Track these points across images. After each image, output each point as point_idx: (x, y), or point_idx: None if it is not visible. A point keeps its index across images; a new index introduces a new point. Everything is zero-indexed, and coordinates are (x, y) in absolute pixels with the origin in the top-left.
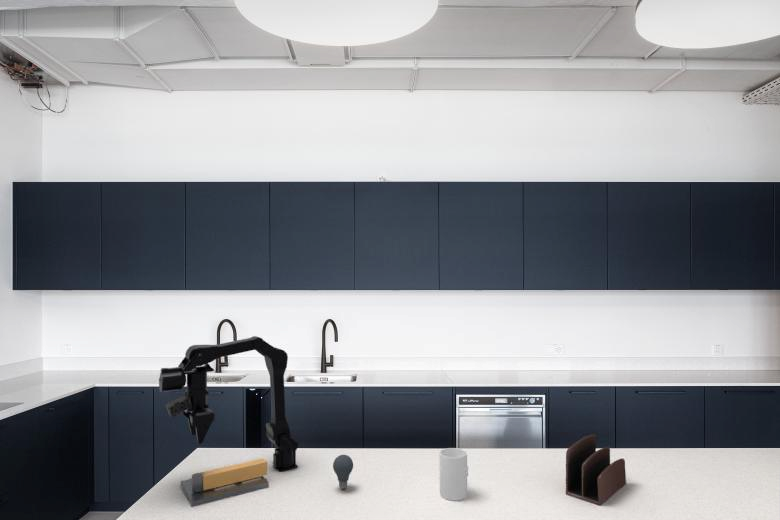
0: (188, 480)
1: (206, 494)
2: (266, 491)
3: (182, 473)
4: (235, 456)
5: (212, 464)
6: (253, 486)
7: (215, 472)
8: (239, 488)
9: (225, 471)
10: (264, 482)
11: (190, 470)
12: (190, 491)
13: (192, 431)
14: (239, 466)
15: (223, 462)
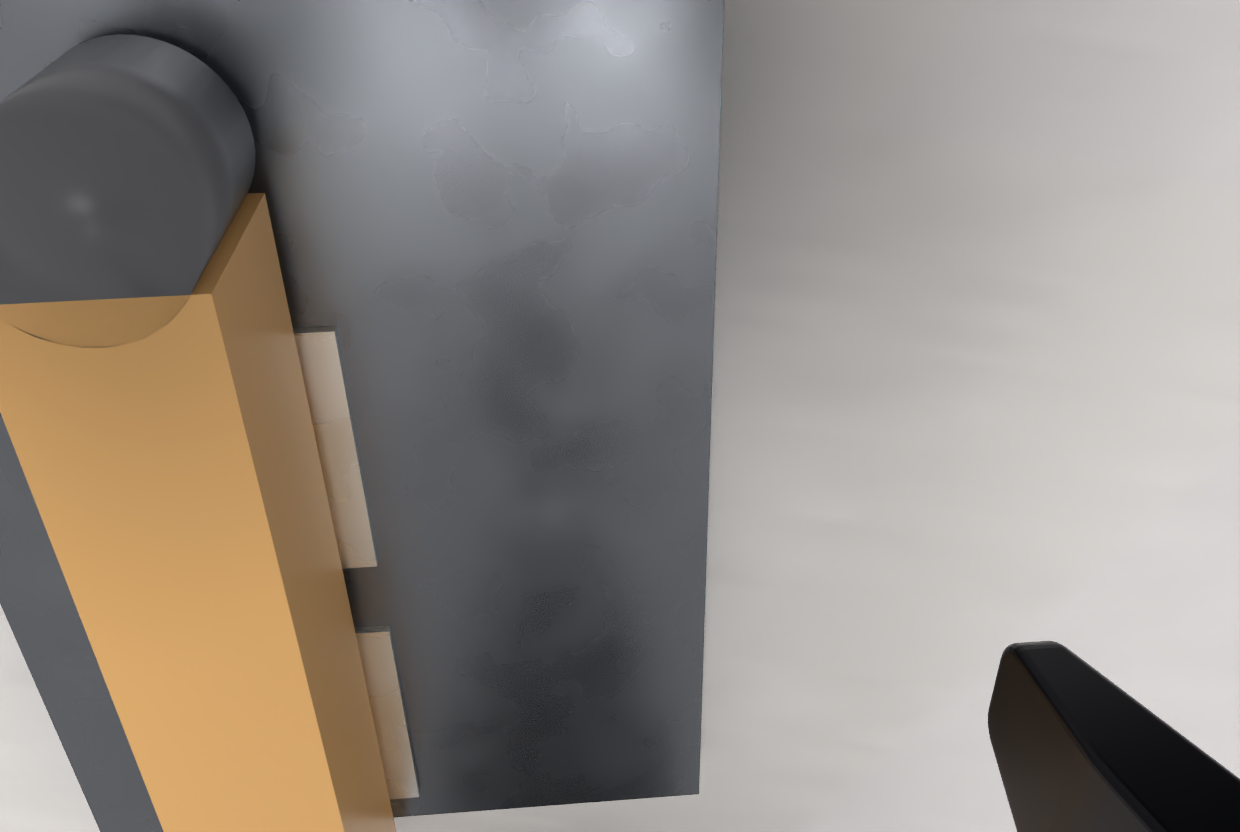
0: (678, 60)
1: None
2: (16, 760)
3: (1220, 32)
4: (1208, 686)
5: (1191, 447)
6: (55, 713)
7: (95, 501)
8: (26, 596)
9: (84, 623)
10: (109, 810)
11: (1234, 162)
12: (175, 12)
13: (1057, 771)
14: (215, 787)
15: (1142, 560)
